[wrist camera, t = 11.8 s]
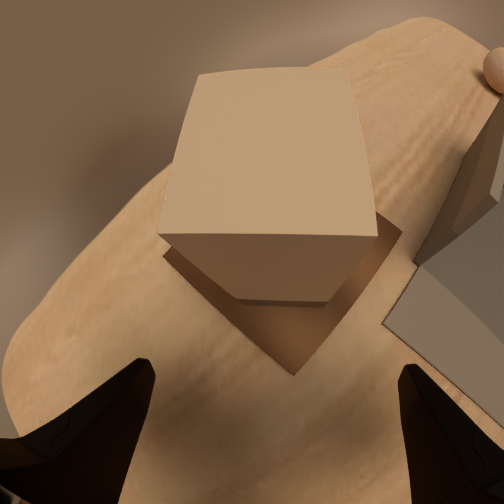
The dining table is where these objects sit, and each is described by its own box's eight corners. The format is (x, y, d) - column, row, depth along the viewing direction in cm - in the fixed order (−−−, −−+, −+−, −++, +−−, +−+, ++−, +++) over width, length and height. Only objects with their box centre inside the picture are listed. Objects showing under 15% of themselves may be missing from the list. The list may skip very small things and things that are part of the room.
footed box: (323, 307, 17) (377, 236, 6) (243, 304, 18) (157, 233, 6) (323, 218, 19) (345, 69, 8) (249, 217, 20) (198, 74, 8)
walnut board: (293, 374, 17) (293, 375, 16) (168, 260, 21) (162, 256, 20) (398, 237, 19) (402, 231, 18) (272, 151, 22) (271, 143, 21)
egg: (507, 89, 22) (524, 55, 15) (512, 110, 21) (533, 74, 14) (475, 68, 24) (490, 32, 17) (478, 87, 23) (496, 47, 15)
